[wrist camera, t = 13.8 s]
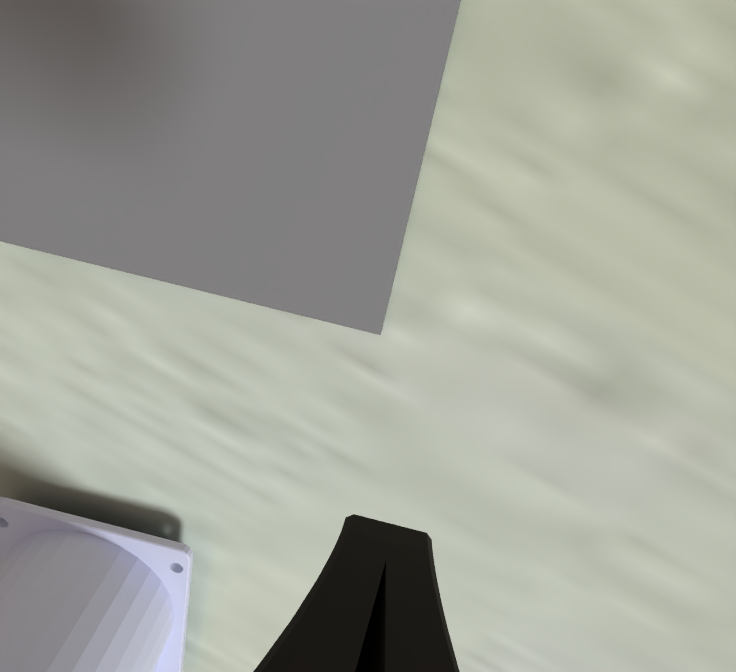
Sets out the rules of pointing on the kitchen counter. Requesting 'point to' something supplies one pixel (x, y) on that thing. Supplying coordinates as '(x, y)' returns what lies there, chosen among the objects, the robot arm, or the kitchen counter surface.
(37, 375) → the kitchen counter surface
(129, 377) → the kitchen counter surface
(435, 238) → the kitchen counter surface
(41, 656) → the robot arm
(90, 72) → the letter mat
